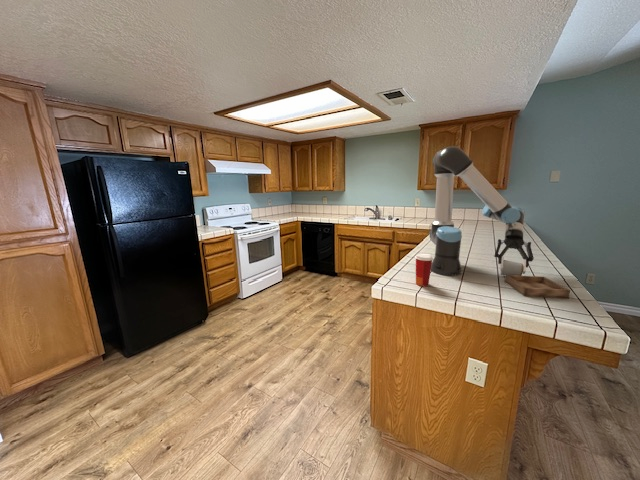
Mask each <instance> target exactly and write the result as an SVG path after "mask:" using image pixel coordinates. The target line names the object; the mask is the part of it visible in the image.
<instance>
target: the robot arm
mask: <svg viewBox="0 0 640 480" xmlns="http://www.w3.org/2000/svg"><path fill="white" fill-rule="evenodd" d="M432 166H433V168H434V169H433V175H434V176H435V177H436V185H435V186H436V187H435V189H436V190H435V191H436V192H435V203H434V204H435V209H434V220H433V221H432V222H431V229H430V231H429V239H430V241H431V242H432V244H434V245H435V250H434V251H435V252H434V256H433V260H432V264H431V271H430V272H433V273H435V274H437V275H443V276H451V277H452V276H453V277H454V276H460V275H461V274H462V271H463V270H462V269H463V268H462V265H461V261H460V254H461V243H462V237H463V234H462V230H461V229H460V228H458V227H455V223H454V222H453V221H452V217H453V215H452V214H453V213H452V211H453V201H454V200H453V199H454V184H455V177H459V178H460V179H461V180H462V181H463V182H464V184H466V186H467V187H468V188H469V189H470V190H471V191H472V192H473V193H474V194H475V195H476V196H477V197H478V199H480V200H481V202H482V203H483V204H484V207H483V208H482V211H481V212H482V213H481V214H482V215H483V217H486V218H489V219H492V220H495V221H499V222H502V223H505V227H504V228H505V229H504V231H505V232H504V239H501V238H498V239H497V247H496V250H495V252H494V256H493V257H494V258H497V260H498V261H497V262H498V265H500V270H499V271H500V272H501V271H502V270H503V261H504V260H505V259H504V255H505V254H506V253H507V252H508V250H509V249H513V250H517V252H519V254H520V256H521V257H522V259H523V260H522V264H523V273H522V275H525V274H526V272H527V268H528V267H529V265H530V264H529V263H530V262H533V261H534V258H535V257H534V255H533V254H534V253H533V251H532V247H531V245H532V241H531V242H530V241H528V242H526V241H525V240H524V219H525V214H524V210H523V207H520V206H512V205H511V204H510V203H509V202H508V201H507V200H506V199H505V198H504V197H503V196H502V195H501V194H500V193H499V191H497V189H495V187H494V186H493V184H491V183H490V182H489V181H488V180H487V179H486V177H484V175H482V173H481V172H480V171H479V170H478V168H476V167H475V166H474V161H473V160H472V159H471V158H470V157H469V155H468V154H467V153H466V152H464V150H463V149H462V148H460V147H458V146H456V145H451V146H450V145H449V146H447V147H445V148H442V149H440V150H439V151H438V152H436V153H435V155H434V157H433V160H432ZM503 244H504V245H505V247H504V248H503V249H502V250H501V252H500V249H501V245H503ZM523 246H524V247H525V248H526V252H525V250H524V248H523ZM499 252H500V254H499Z"/></svg>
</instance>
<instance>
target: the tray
mask: <svg viewBox="0 0 640 480" xmlns="http://www.w3.org/2000/svg"><path fill="white" fill-rule="evenodd" d="M504 276H505V275H504ZM504 283H505V284H507V286H510V287H511V288H512V289H514V290H515V291H516V292H518V293H519V294H521V295H522V296H523V297H534V298H535V297H537V298H550V299H551V298H552V299H569V298H570V293H571V290H570V289H567V288H566V287H564V286H562V285H560V284H559V283H556V282H555V281H553V280H552V279H550V278H548V277H546V276H538V275H536V276H535V275H522V276H517V275H506V276H505V277H504Z"/></svg>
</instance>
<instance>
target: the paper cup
mask: <svg viewBox="0 0 640 480" xmlns="http://www.w3.org/2000/svg"><path fill="white" fill-rule="evenodd" d="M414 258H415V284H416V285H417V286H419V287H428V286H429V284H430V278H431V277H430V276H431V272H432V271H431V264H432V261H433V259H434V257H433V256H432V255H431V254H429V253H417V254H416V255H415V257H414Z"/></svg>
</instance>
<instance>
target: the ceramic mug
mask: <svg viewBox="0 0 640 480" xmlns="http://www.w3.org/2000/svg"><path fill="white" fill-rule="evenodd" d="M500 275H501V276H506V275H517V276H523V263H521V262H518V261H513V260H508V259H504V261H503V270H502V271H500Z"/></svg>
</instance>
